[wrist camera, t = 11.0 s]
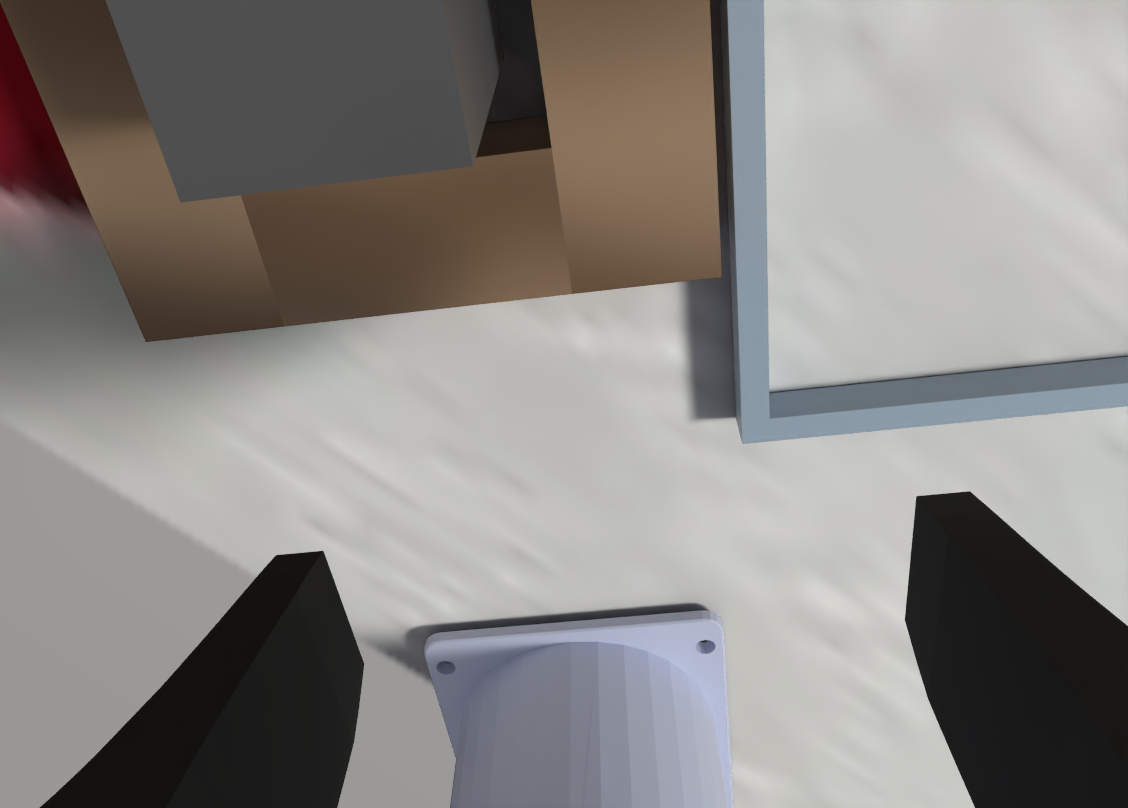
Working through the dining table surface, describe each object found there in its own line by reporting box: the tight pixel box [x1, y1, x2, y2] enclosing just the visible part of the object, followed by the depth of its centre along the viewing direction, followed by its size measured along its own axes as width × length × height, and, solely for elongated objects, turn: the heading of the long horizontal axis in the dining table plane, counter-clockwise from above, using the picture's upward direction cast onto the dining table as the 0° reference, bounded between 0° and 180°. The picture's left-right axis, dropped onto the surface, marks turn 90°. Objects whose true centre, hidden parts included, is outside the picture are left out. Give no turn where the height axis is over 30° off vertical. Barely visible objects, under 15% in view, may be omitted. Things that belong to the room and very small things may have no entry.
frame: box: [720, 0, 1128, 444], centre depth 17 cm, size 12×12×1 cm
